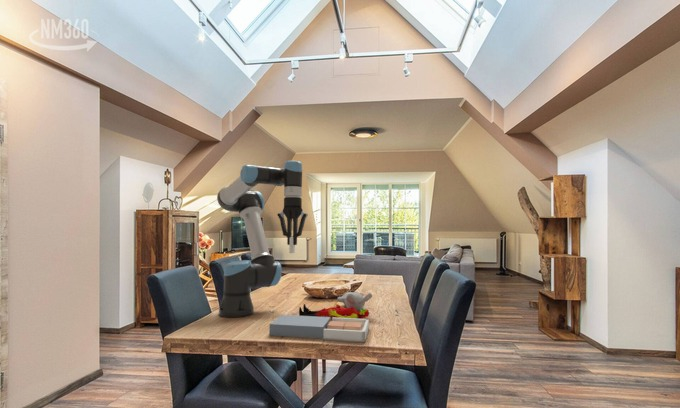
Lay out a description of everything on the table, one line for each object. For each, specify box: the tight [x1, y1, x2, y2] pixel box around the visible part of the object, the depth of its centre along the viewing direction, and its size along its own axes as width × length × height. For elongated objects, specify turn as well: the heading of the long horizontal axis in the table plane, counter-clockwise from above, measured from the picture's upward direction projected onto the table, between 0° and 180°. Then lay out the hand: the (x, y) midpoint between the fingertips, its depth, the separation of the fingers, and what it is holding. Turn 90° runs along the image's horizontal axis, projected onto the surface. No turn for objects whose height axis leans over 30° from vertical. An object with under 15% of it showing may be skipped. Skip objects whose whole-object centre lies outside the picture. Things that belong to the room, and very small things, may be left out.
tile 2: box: [344, 322, 362, 331], centre depth 133 cm, size 6×6×3 cm
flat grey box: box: [268, 314, 332, 340], centre depth 136 cm, size 20×14×4 cm
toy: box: [337, 291, 373, 312], centre depth 168 cm, size 12×10×30 cm
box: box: [323, 317, 370, 343], centre depth 133 cm, size 14×17×4 cm
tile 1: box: [327, 320, 346, 330], centre depth 134 cm, size 6×6×3 cm
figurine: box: [298, 303, 370, 319], centre depth 156 cm, size 12×6×30 cm
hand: (292, 252), depth 152 cm, fingers closed
